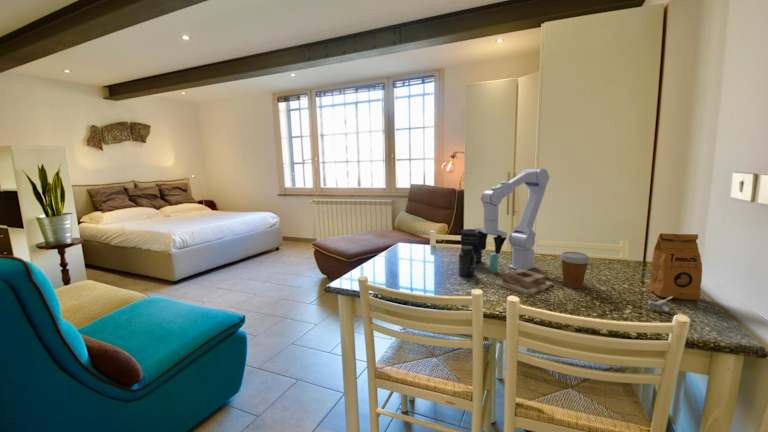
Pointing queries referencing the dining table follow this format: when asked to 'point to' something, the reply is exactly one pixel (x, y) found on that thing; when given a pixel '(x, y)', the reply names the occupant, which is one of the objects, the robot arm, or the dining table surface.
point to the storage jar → (472, 243)
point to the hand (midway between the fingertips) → (490, 251)
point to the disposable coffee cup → (574, 268)
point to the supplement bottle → (467, 262)
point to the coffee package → (676, 267)
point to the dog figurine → (660, 304)
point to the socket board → (521, 290)
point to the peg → (493, 262)
